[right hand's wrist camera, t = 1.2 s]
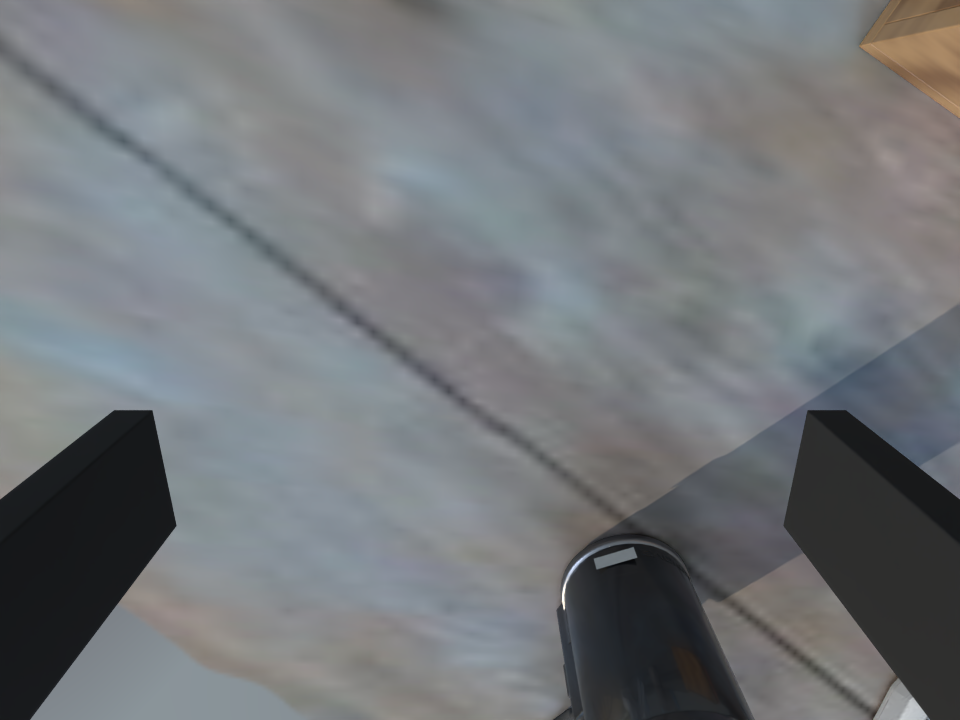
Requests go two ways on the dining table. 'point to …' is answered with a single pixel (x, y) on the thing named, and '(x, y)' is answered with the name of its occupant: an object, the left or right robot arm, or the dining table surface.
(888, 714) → the wall clock
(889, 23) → the cabinet
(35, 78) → the dining table surface
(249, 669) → the dining table surface
